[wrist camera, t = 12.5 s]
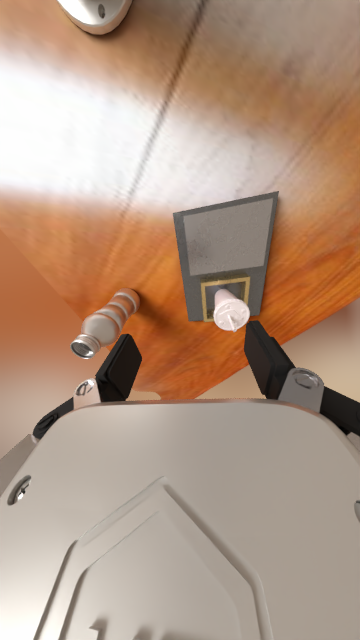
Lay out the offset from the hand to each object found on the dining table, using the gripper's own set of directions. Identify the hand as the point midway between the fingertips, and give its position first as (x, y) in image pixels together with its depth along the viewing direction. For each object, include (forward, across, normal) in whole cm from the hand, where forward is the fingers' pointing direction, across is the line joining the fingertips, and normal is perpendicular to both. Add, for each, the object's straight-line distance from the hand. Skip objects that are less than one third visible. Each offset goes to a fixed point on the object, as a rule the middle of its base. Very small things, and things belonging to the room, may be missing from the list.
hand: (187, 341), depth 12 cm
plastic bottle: (+26, +17, +6) cm, 31 cm away
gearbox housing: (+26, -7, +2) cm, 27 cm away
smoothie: (+24, -7, +8) cm, 26 cm away
